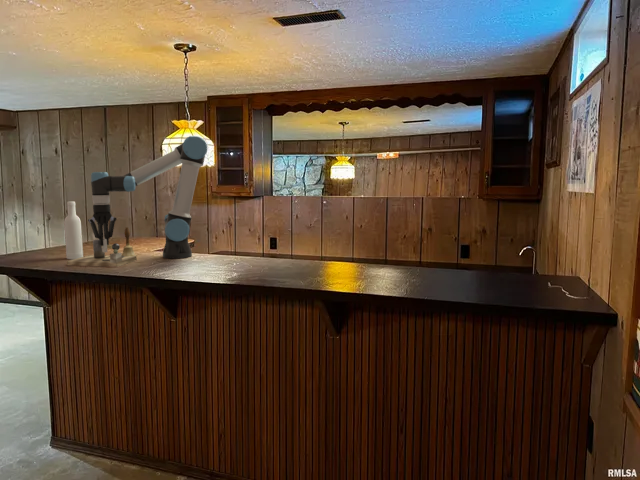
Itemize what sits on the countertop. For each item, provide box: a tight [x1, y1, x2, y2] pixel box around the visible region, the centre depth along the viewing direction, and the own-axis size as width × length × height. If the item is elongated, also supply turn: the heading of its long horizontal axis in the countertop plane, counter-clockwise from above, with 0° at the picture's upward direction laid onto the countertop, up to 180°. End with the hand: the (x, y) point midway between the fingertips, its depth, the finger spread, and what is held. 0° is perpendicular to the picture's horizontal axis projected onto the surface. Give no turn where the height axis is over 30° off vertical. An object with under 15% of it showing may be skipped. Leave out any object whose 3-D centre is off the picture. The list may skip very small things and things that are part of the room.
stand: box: [66, 249, 137, 268], centre depth 227 cm, size 26×18×8 cm
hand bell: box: [121, 226, 138, 257], centre depth 245 cm, size 8×8×16 cm
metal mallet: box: [92, 238, 121, 258], centre depth 228 cm, size 15×5×9 cm, turn 73°
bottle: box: [63, 200, 84, 260], centre depth 238 cm, size 8×8×30 cm
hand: (104, 252), depth 223 cm, fingers closed
